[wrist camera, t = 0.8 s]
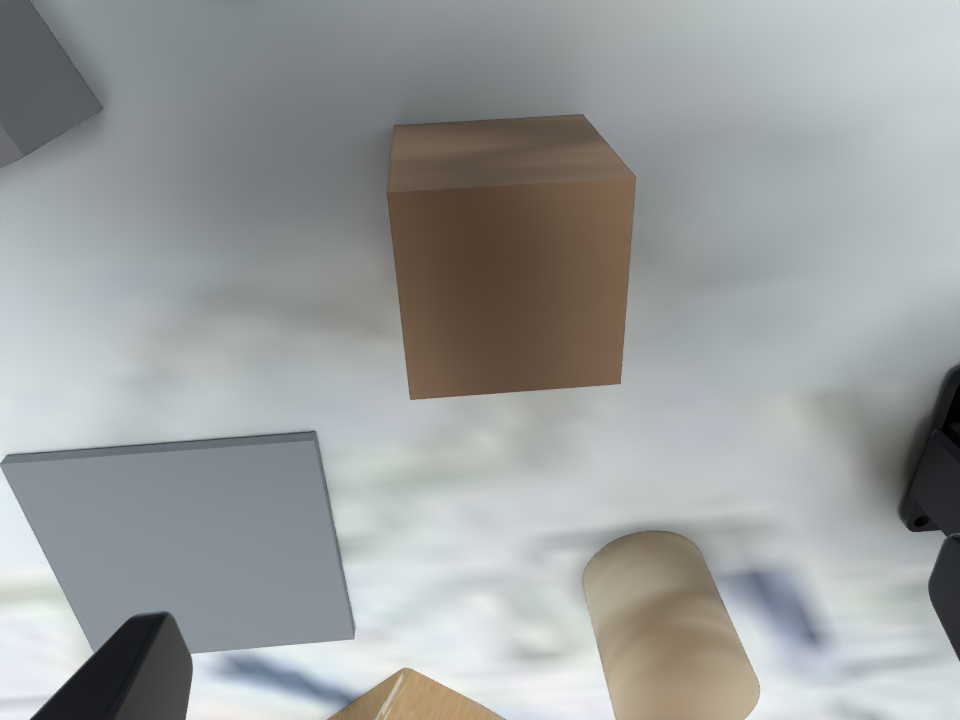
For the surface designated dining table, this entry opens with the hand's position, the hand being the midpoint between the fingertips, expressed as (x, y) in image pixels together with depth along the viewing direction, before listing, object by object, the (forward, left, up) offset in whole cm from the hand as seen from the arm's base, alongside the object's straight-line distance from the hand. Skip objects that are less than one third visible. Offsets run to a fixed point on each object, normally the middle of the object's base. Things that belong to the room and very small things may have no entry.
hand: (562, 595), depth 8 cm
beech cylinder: (-5, +14, -12) cm, 19 cm away
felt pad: (+10, +11, -12) cm, 19 cm away
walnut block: (0, 0, -12) cm, 12 cm away
